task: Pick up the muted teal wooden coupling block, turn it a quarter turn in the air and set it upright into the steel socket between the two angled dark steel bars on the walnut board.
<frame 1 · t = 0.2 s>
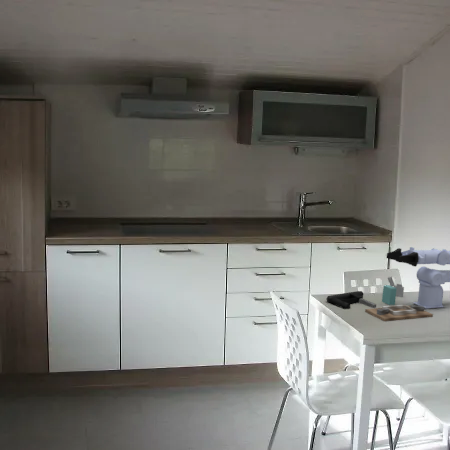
hand: (393, 257, 237), 21 cm above the table, tool horizontal, fingers open, 7 cm apart
coupling block: (388, 303, 248), on the table
lighter: (394, 295, 261), on the table
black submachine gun: (354, 304, 245), on the table
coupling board: (398, 314, 233), on the table
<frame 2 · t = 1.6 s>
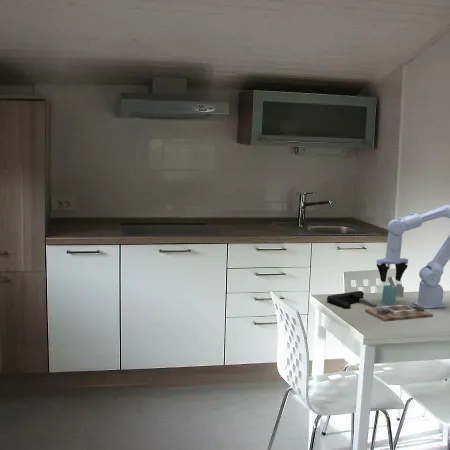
hand: (390, 281, 247), 9 cm above the table, tool pointing down, fingers open, 7 cm apart
nothing on the table moved.
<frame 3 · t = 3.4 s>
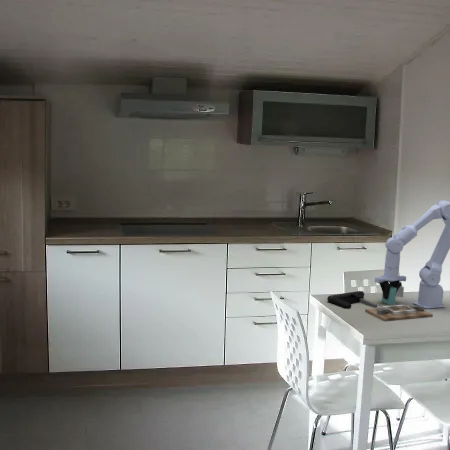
hand: (388, 298, 248), 2 cm above the table, tool pointing down, fingers closed on coupling block, 3 cm apart
coupling block: (388, 303, 248), on the table, touching gripper
everything else where it was.
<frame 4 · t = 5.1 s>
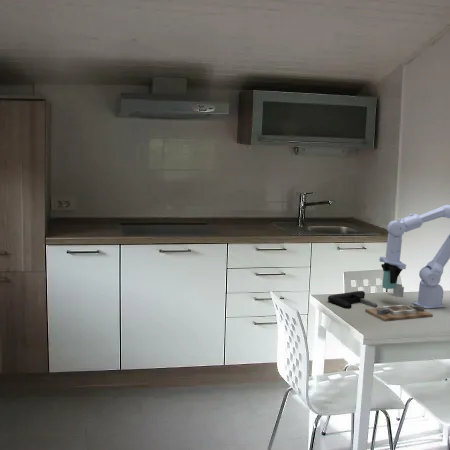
hand: (390, 282, 247), 9 cm above the table, tool pointing down, fingers closed on coupling block, 3 cm apart
coupling block: (389, 287, 247), point 7 cm above the table, touching gripper
everything else where it was.
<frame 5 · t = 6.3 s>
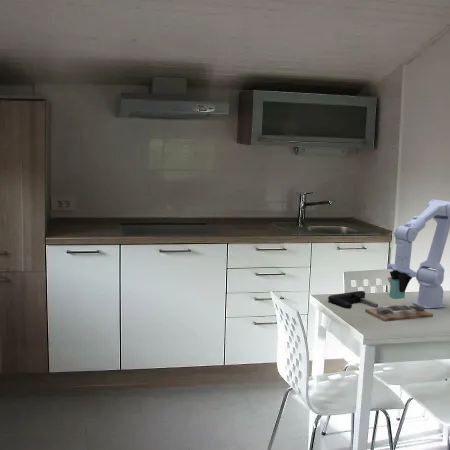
hand: (399, 290, 234), 9 cm above the table, tool pointing down, fingers closed on coupling block, 3 cm apart
coupling block: (396, 297, 234), point 6 cm above the table, touching gripper
everything else where it was.
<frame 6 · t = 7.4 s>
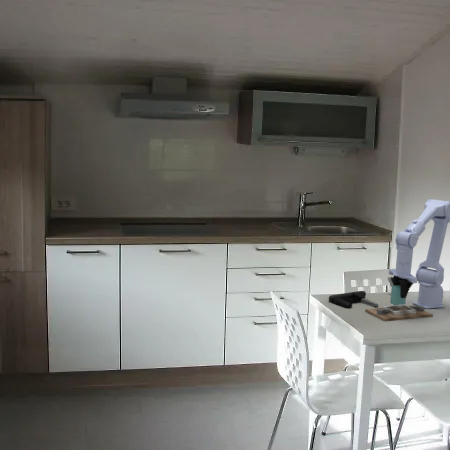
hand: (400, 296, 232), 7 cm above the table, tool pointing down, fingers closed on coupling block, 3 cm apart
coupling block: (397, 303, 232), point 4 cm above the table, touching gripper
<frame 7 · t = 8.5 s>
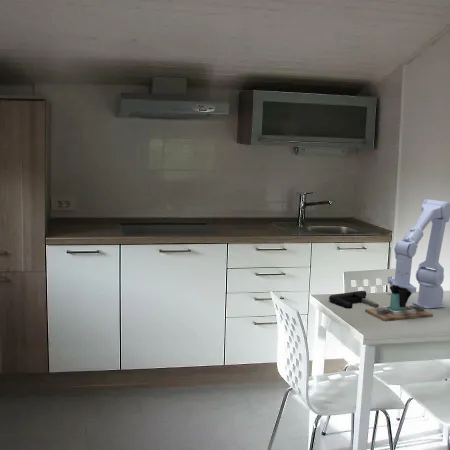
hand: (399, 305, 233), 3 cm above the table, tool pointing down, fingers closed on coupling block, 3 cm apart
coupling block: (396, 311, 233), point 1 cm above the table, touching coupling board, gripper
when the fingers open (3 cm above the table, at t = 9.3 s): coupling block stays where it is, resting on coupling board.
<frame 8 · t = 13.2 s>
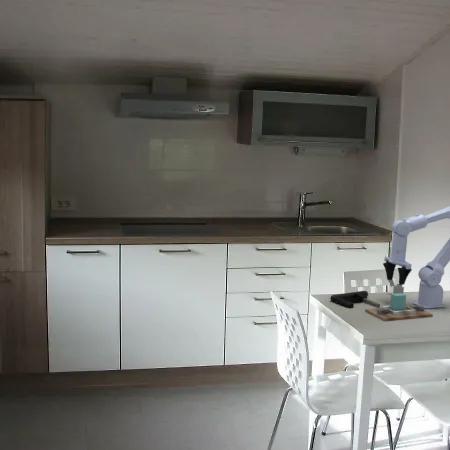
hand: (395, 282, 246), 9 cm above the table, tool pointing down, fingers open, 7 cm apart
coupling block: (396, 311, 233), point 1 cm above the table, touching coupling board
at the end: coupling block 1.0 cm off-centre on the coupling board, point 1.0 cm above the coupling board's base; coupling block tilted 0°; the gripper is holding nothing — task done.
